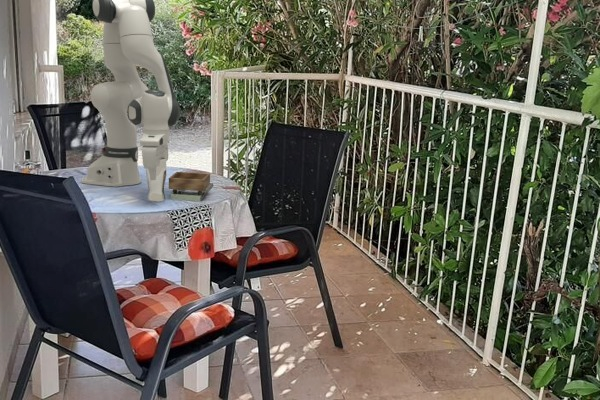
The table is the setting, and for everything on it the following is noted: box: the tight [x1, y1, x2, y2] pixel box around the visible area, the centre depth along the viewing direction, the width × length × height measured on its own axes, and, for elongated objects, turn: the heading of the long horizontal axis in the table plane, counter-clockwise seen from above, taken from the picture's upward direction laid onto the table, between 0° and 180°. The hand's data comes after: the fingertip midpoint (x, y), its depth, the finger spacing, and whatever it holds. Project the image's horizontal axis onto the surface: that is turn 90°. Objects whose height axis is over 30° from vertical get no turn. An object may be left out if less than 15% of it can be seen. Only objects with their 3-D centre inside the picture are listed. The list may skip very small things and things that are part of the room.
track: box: [170, 182, 214, 202], centre depth 228 cm, size 11×27×2 cm, turn 178°
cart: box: [168, 171, 211, 195], centre depth 221 cm, size 13×13×6 cm
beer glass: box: [145, 157, 167, 203], centre depth 212 cm, size 7×7×15 cm
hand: (156, 177), depth 211 cm, fingers open, 8 cm apart
